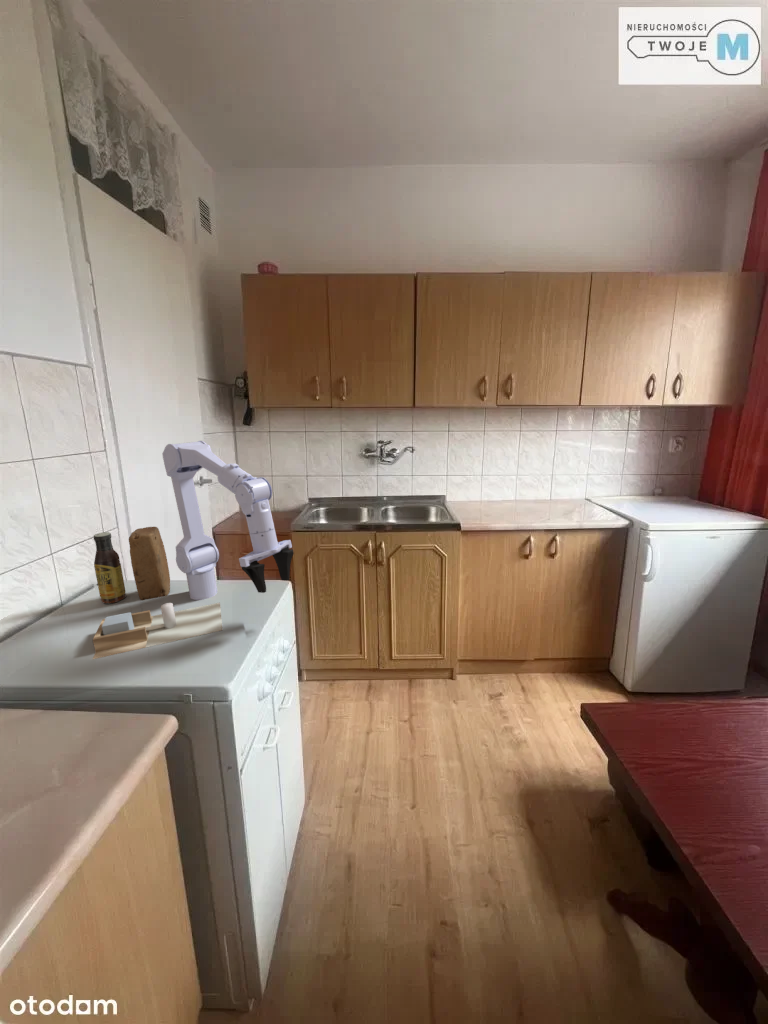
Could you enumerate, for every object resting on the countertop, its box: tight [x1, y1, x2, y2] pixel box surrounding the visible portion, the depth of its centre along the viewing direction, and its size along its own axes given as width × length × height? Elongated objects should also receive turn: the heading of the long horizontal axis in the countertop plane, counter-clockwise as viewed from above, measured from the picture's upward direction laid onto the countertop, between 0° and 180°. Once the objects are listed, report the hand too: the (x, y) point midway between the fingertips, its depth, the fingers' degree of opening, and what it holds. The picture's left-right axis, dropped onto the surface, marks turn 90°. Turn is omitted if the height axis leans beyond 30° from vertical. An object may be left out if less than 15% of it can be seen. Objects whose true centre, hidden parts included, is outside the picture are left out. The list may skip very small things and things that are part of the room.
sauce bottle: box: [93, 531, 127, 604], centre depth 119 cm, size 6×6×20 cm
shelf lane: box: [92, 602, 223, 660], centre depth 101 cm, size 16×26×4 cm, turn 113°
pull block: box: [102, 602, 177, 635], centre depth 99 cm, size 5×14×6 cm, turn 113°
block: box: [128, 526, 171, 601], centre depth 121 cm, size 11×8×20 cm
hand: (274, 585), depth 100 cm, fingers open, 7 cm apart
